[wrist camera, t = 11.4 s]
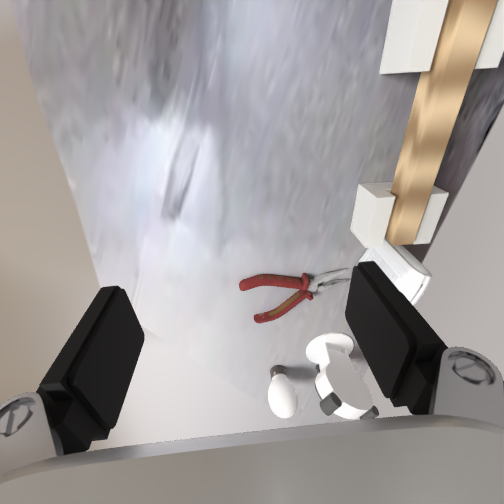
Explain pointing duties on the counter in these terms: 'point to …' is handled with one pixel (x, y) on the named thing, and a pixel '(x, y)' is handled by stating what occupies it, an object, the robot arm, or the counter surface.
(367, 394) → the panda figurine
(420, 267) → the photo printer
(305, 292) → the pliers
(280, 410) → the light bulb
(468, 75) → the slat
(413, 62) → the end caps
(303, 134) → the counter surface
